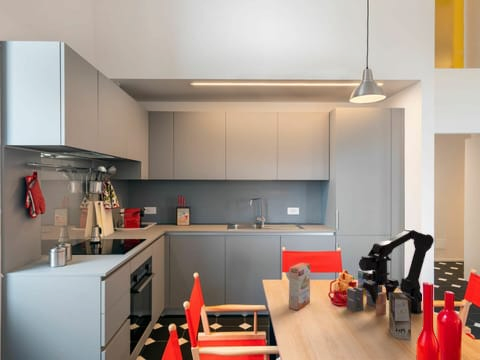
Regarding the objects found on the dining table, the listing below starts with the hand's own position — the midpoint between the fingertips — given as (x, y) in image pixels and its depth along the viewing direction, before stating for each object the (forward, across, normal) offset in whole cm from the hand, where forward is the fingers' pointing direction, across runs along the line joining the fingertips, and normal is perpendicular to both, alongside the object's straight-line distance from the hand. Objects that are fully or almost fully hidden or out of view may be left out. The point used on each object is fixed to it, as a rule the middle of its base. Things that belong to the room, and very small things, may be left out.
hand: (381, 301), depth 150 cm
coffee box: (+6, +10, +18) cm, 22 cm away
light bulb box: (+6, -24, -30) cm, 39 cm away
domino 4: (+6, -9, -10) cm, 15 cm away
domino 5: (+6, 0, 0) cm, 6 cm away
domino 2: (+6, +5, -10) cm, 12 cm away
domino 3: (+6, -4, -10) cm, 12 cm away
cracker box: (+6, +30, -25) cm, 40 cm away
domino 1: (+6, +9, -10) cm, 15 cm away
